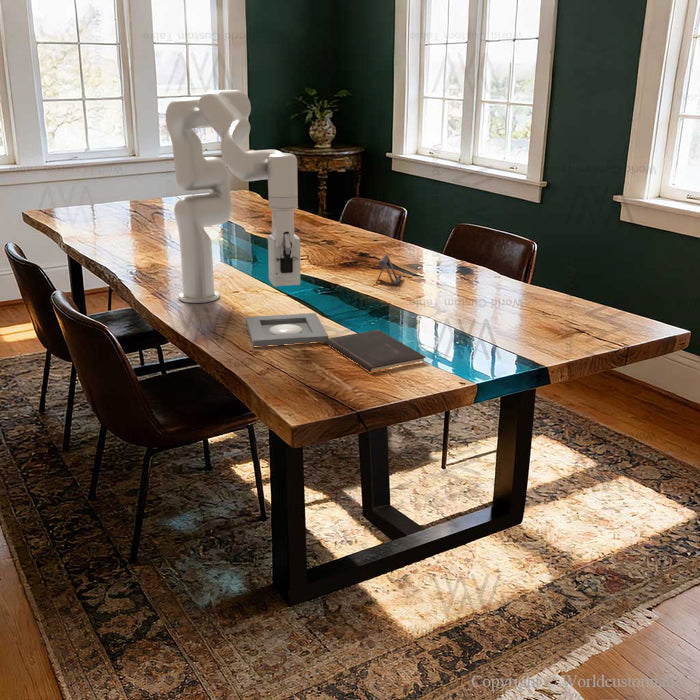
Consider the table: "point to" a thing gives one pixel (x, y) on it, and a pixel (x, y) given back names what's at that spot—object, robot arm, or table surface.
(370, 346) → the hardcover book
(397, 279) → the portable electronic device stand
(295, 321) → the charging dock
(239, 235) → the table surface
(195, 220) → the robot arm
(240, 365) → the table surface
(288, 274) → the supplement box
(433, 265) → the table surface
